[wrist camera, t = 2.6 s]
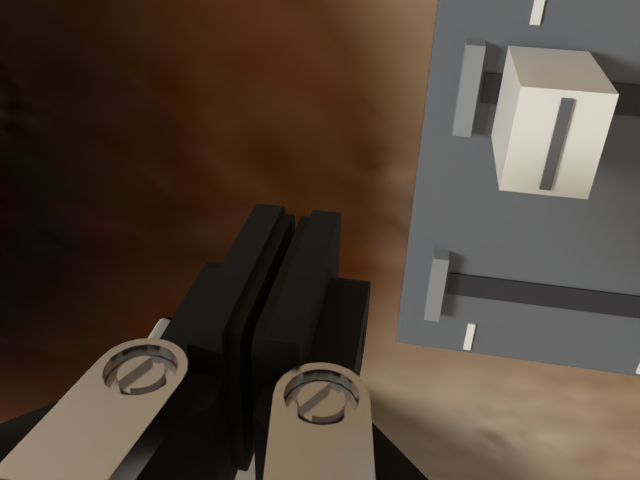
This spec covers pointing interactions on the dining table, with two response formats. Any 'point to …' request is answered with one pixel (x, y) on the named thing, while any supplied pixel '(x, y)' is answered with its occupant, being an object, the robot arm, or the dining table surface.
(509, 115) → the fader
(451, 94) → the console
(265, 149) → the dining table surface
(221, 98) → the dining table surface
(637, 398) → the dining table surface
